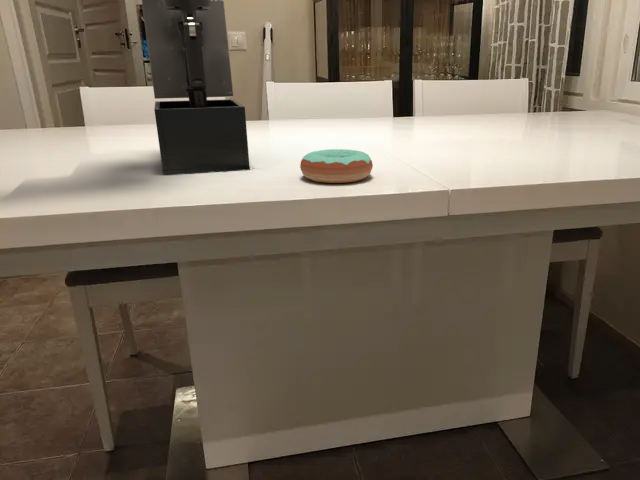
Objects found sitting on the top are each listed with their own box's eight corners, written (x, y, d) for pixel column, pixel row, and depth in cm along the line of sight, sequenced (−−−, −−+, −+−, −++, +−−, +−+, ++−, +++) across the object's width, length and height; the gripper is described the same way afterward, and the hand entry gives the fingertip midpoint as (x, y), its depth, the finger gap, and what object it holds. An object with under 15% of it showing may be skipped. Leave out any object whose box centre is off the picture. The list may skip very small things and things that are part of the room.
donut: (387, 179, 91) (387, 155, 89) (323, 189, 85) (323, 162, 83) (347, 167, 100) (347, 145, 99) (288, 175, 94) (286, 151, 92)
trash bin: (249, 169, 99) (244, 106, 95) (163, 175, 95) (154, 109, 91) (238, 154, 114) (233, 99, 110) (162, 158, 109) (155, 101, 105)
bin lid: (223, -1, 105) (221, 7, 111) (141, -3, 101) (142, 5, 106) (233, 96, 109) (230, 99, 114) (154, 98, 105) (155, 101, 110)
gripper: (213, -23, 85) (227, 133, 93) (204, -11, 101) (217, 121, 110) (161, -25, 82) (180, 135, 91) (160, -12, 99) (177, 122, 107)
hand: (200, 127), depth 100 cm, fingers open, 6 cm apart
